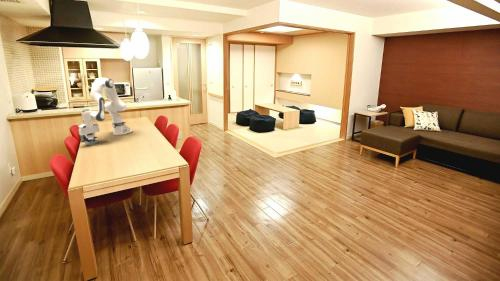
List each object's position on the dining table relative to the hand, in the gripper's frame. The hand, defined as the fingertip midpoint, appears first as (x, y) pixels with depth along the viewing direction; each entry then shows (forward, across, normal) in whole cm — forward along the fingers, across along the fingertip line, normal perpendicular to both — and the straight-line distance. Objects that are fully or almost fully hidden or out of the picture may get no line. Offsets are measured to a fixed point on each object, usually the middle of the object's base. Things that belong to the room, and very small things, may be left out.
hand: (90, 137), depth 287 cm
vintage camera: (+8, -6, -14) cm, 17 cm away
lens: (+4, 0, 0) cm, 4 cm away
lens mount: (+8, 0, 0) cm, 8 cm away
